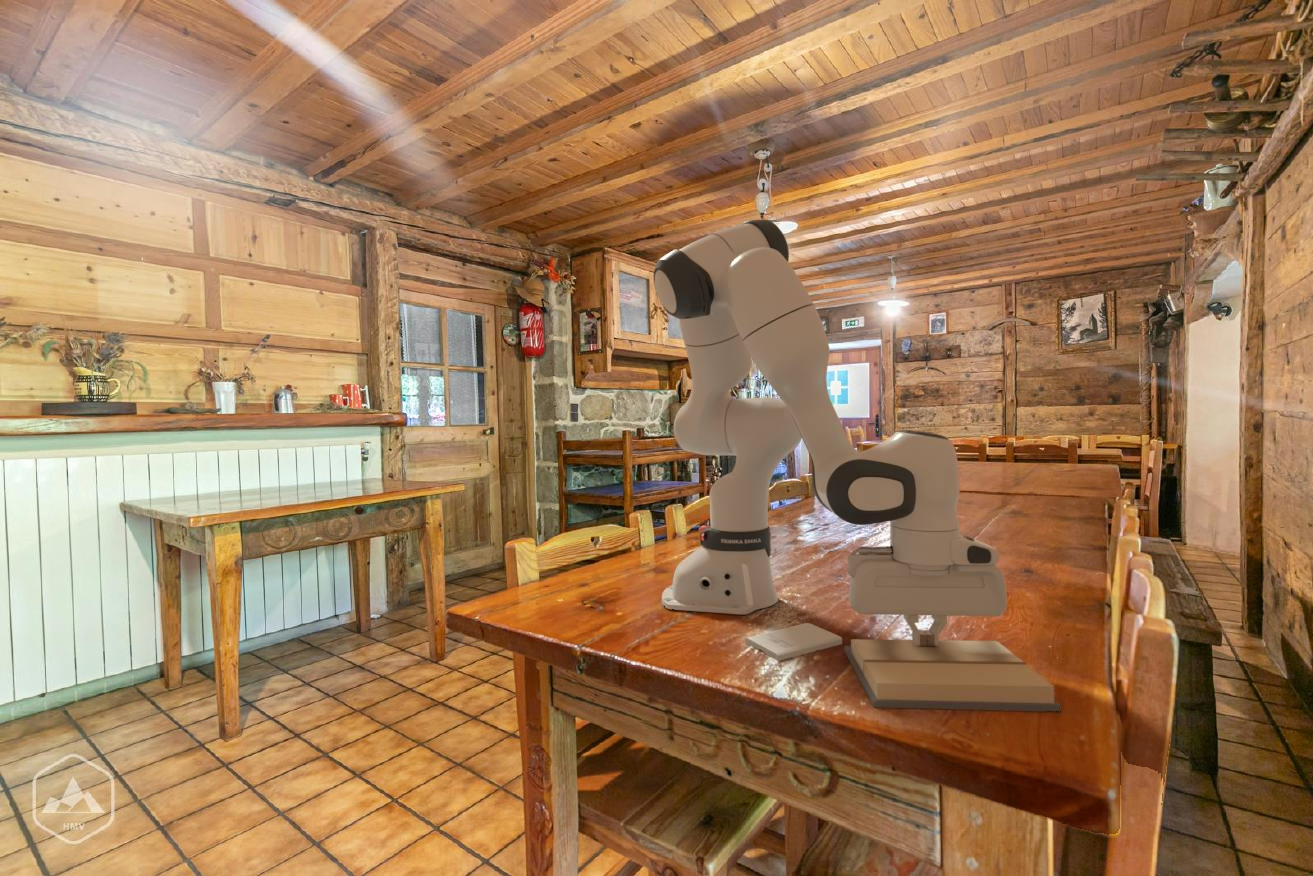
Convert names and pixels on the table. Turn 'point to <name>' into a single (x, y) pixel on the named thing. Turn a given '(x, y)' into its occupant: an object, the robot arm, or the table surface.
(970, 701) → the floor base
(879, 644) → the ash plank
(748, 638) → the external hard drive
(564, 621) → the table surface
